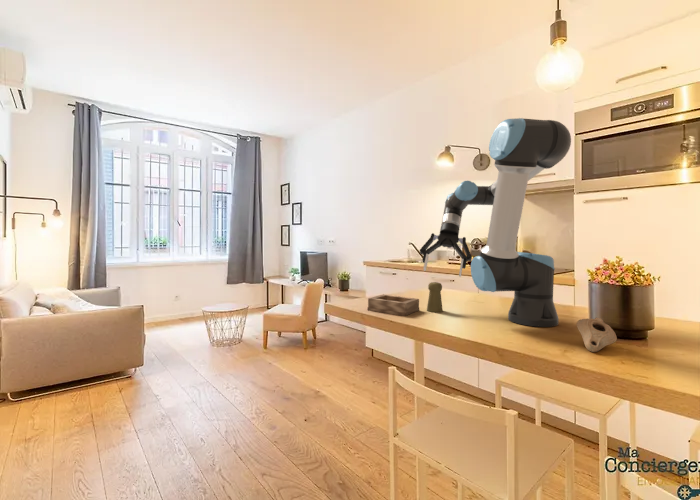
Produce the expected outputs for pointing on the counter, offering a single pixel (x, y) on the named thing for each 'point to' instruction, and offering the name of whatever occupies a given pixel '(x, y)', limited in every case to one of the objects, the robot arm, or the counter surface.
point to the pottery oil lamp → (595, 333)
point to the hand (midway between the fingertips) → (442, 272)
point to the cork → (434, 297)
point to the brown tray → (393, 304)
